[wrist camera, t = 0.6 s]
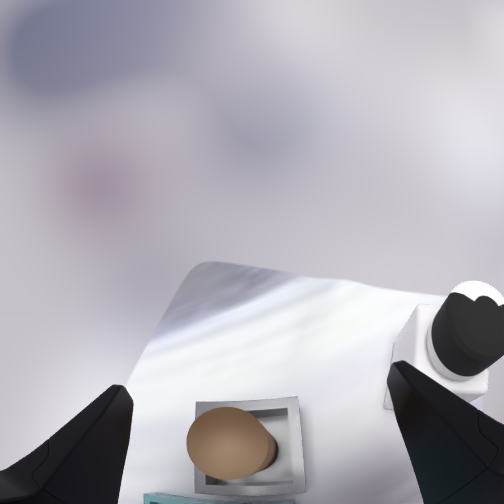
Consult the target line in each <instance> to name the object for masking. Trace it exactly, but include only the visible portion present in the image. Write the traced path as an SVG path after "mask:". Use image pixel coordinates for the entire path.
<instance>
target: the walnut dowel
mask: <svg viewBox="0 0 504 504" xmlns="http://www.w3.org/2000/svg"><path fill="white" fill-rule="evenodd" d="M187 451H188V454H189V456H190V458H191V460H192V462H193V463H194V465H195V466H196V467H197V468H198V469H199V470H200V471H202V472H203V473H205V474H206V475H208V476H210V477H213V478H216V479H221V480H234V479H239V478H243V477H246V476H249V475H251V474H254V473H257V472H260V471H262V470H265V469H267V468H268V467H270V466H271V465H272V464H273V463H274V462H275V460H276V459H277V456H278V452H279V448H278V444H277V441H276V440H275V438H274V437H273V436H272V435H271V434H270V433H269V432H268V430H267V429H266V428H265V427H264V426H263V425H262V424H261V423H260V422H259V421H258V420H257V419H256V418H255V417H254V416H253V415H251V414H250V413H248V412H246V411H244V410H242V409H239V408H235V407H218V408H214V409H211V410H209V411H206V412H205V413H203V414H202V415H200V416H199V417H198V418H197V419H196V420H195V421H194V422H193V424H192V425H191V427H190V429H189V432H188V435H187Z"/></svg>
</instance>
